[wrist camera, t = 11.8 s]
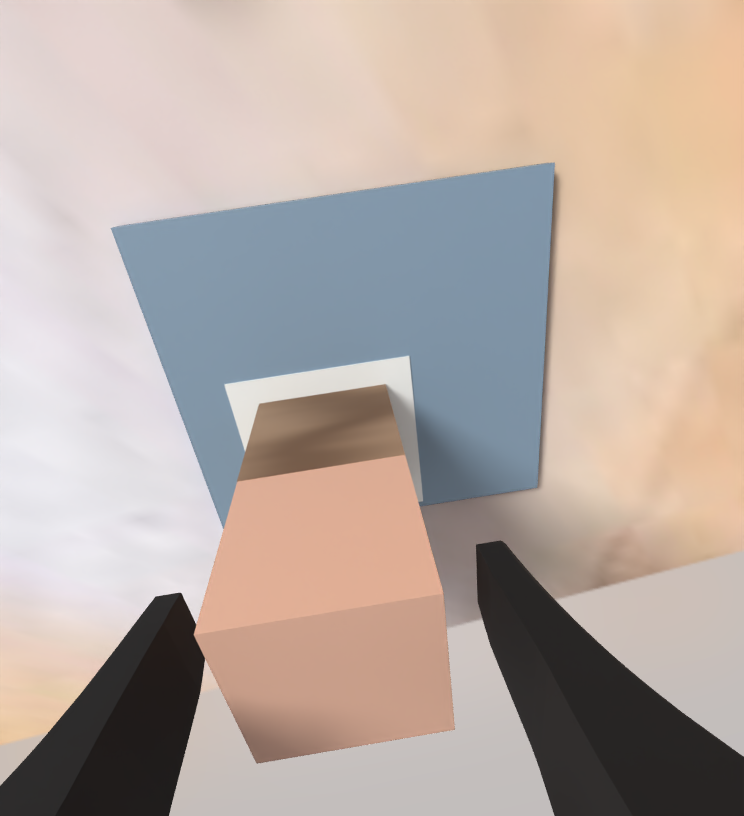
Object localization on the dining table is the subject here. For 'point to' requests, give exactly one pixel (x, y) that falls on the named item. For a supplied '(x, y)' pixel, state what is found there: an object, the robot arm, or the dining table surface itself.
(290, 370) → the plate
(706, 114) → the dining table surface
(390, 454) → the walnut block
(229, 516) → the terracotta block
